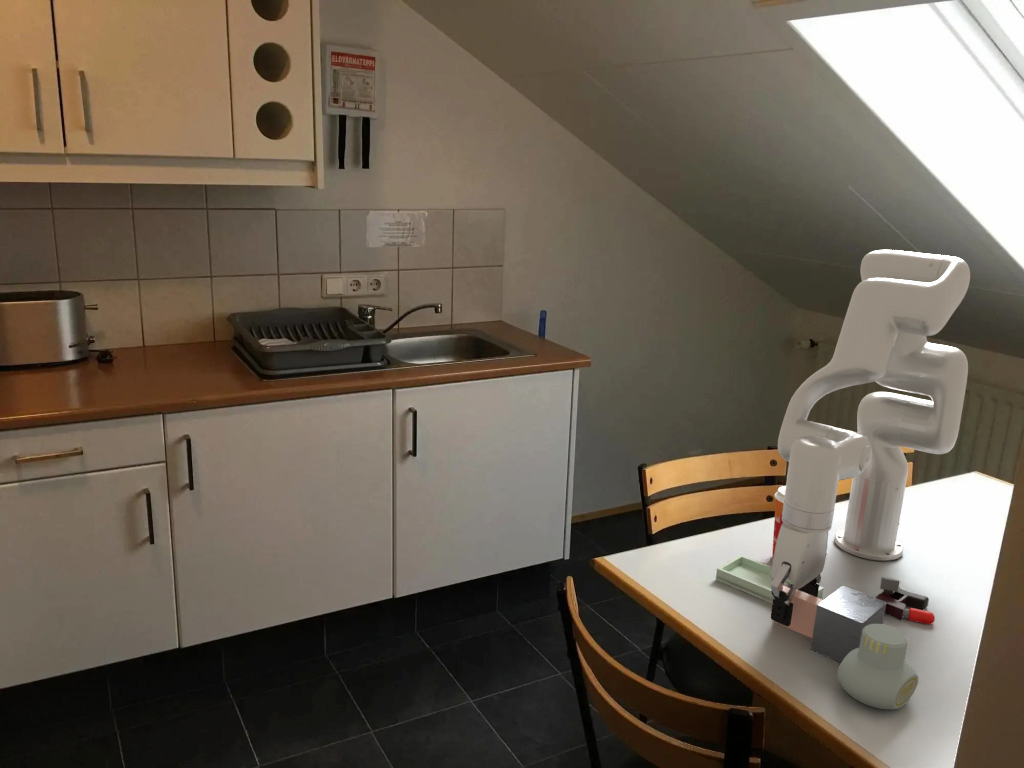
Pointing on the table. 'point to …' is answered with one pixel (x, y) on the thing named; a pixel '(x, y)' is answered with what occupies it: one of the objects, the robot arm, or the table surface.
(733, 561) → the tray
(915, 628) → the table surface
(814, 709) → the table surface
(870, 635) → the air freshener
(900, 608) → the toy gun
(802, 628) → the pink rectangular block
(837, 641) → the dispenser
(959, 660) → the table surface
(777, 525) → the paper cup
